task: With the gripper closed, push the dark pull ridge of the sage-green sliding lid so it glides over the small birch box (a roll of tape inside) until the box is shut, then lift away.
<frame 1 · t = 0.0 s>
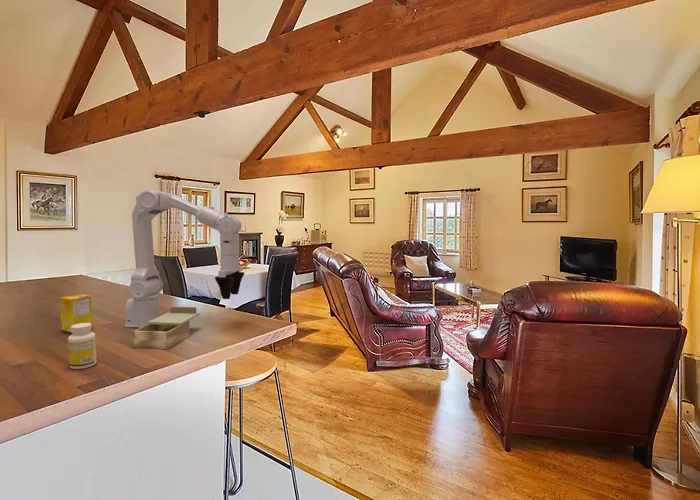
hand: (230, 296, 125), 10 cm above the counter, tool pointing down, fingers open, 7 cm apart
supplement box: (77, 331, 120), on the counter
box: (162, 341, 111), on the counter
supplement bottle: (83, 366, 92), on the counter
lid: (174, 315, 117), point 6 cm above the counter, slide at 7.0 cm
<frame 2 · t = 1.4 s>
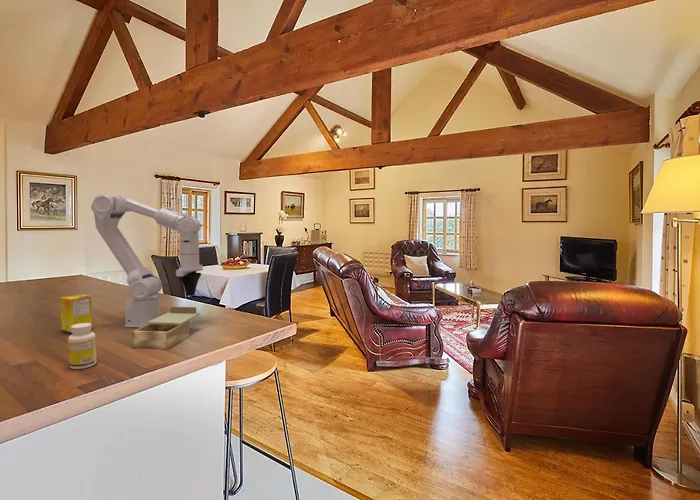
hand: (190, 295, 128), 10 cm above the counter, tool pointing down, fingers closed
nothing on the counter moved.
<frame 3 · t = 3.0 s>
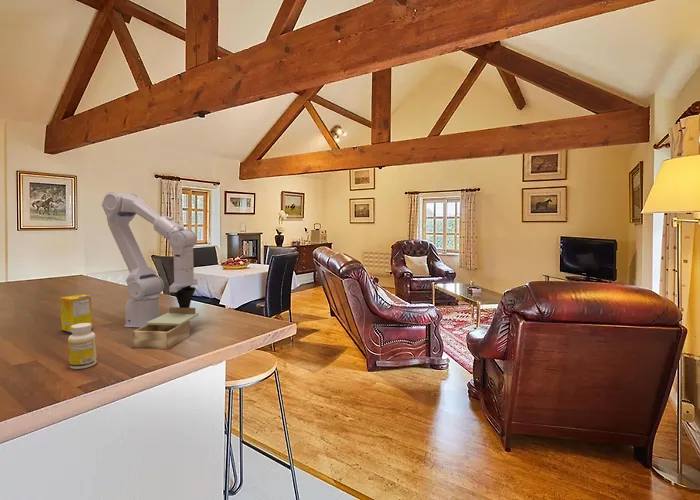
hand: (184, 310, 124), 6 cm above the counter, tool pointing down, fingers closed
lid: (173, 315, 117), point 6 cm above the counter, slide at 6.4 cm, touching gripper
everything else where it was.
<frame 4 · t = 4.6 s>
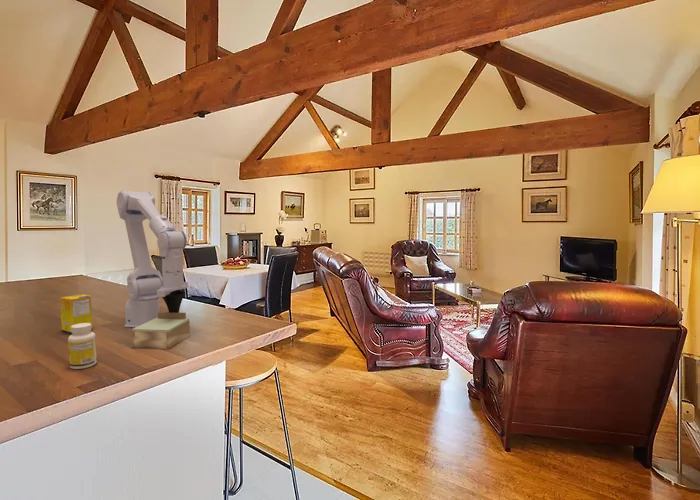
hand: (174, 315, 117), 6 cm above the counter, tool pointing down, fingers closed
lid: (162, 321, 110), point 6 cm above the counter, slide at -0.1 cm, touching gripper
everything else where it was.
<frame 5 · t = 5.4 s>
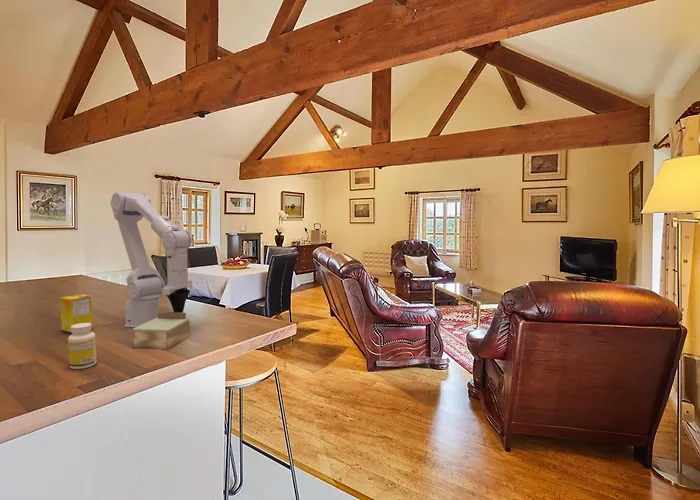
hand: (178, 313, 120), 6 cm above the counter, tool pointing down, fingers closed
lid: (162, 321, 110), point 6 cm above the counter, slide at 0.0 cm
everything else where it was.
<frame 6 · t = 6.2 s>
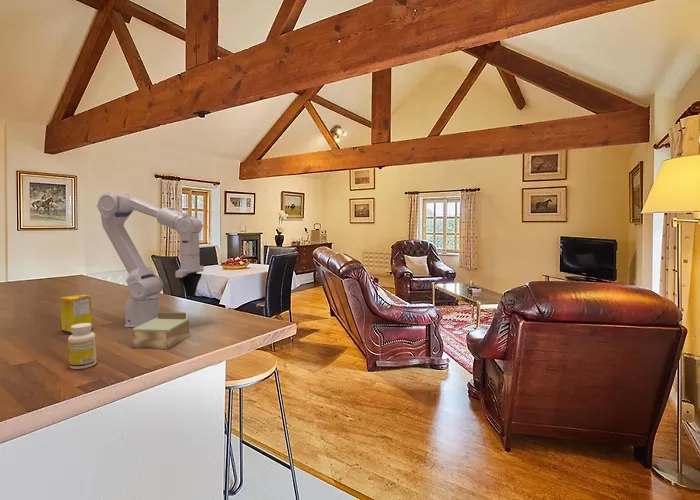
hand: (190, 296, 125), 10 cm above the counter, tool pointing down, fingers closed
nothing on the counter moved.
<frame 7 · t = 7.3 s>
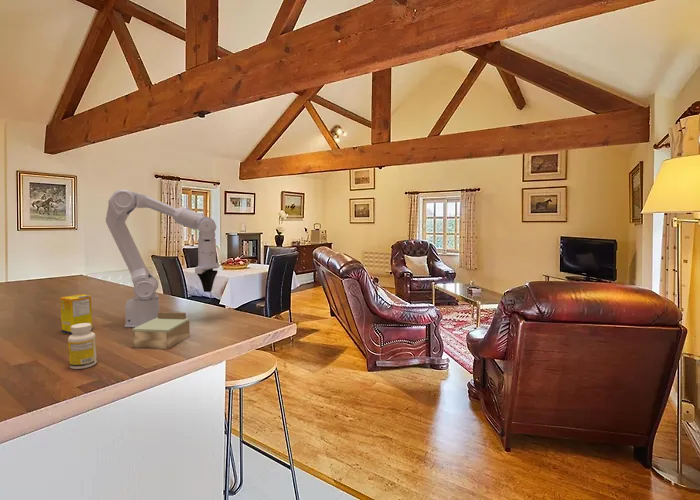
hand: (207, 291, 134), 10 cm above the counter, tool pointing down, fingers closed
nothing on the counter moved.
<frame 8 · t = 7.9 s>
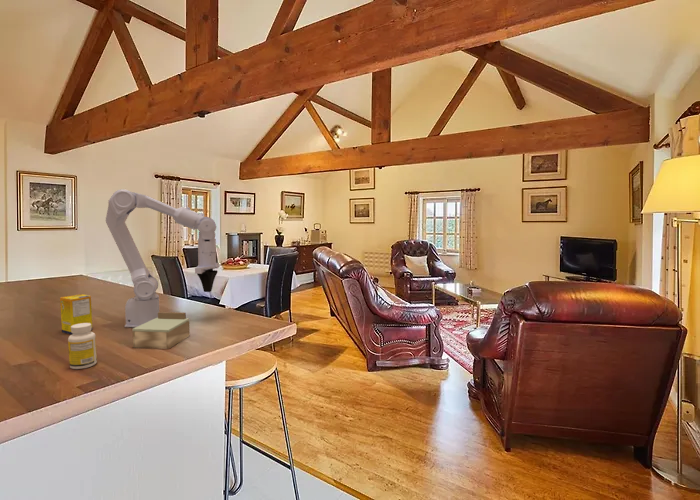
hand: (207, 291, 134), 10 cm above the counter, tool pointing down, fingers closed
nothing on the counter moved.
at the end: lid slide at 0.0 cm; lid touching nothing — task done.
